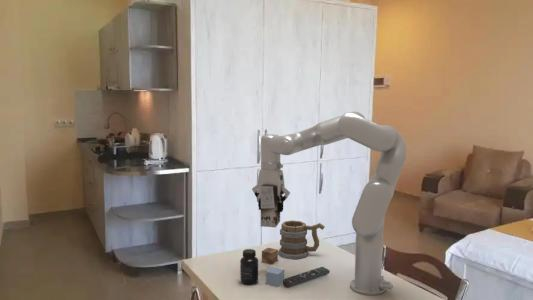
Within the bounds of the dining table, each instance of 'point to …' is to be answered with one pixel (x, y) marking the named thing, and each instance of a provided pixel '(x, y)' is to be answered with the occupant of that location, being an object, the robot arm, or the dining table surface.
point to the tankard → (297, 239)
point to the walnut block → (269, 255)
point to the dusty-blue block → (274, 276)
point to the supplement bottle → (249, 267)
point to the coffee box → (269, 206)
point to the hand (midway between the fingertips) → (270, 210)
